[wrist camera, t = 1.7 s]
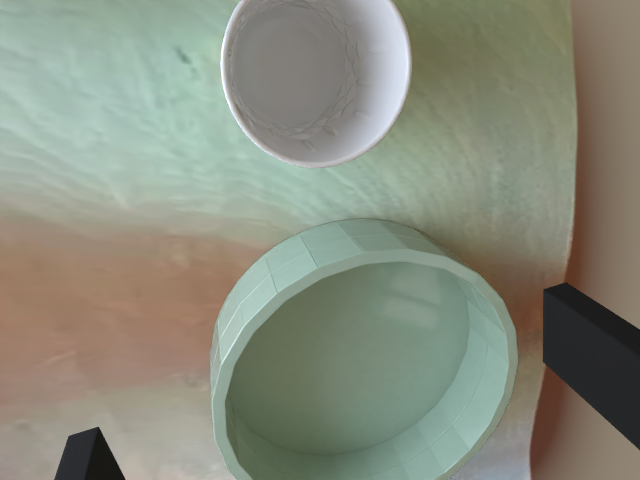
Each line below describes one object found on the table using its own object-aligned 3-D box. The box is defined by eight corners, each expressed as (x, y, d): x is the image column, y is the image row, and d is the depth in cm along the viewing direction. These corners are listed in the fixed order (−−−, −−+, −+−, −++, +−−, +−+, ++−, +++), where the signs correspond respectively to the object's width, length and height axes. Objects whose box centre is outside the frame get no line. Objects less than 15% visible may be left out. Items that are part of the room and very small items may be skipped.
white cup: (367, 31, 29) (445, 19, 20) (314, 153, 31) (363, 194, 21) (243, -36, 26) (267, -85, 17) (194, 102, 28) (191, 124, 19)
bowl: (200, 226, 31) (201, 263, 25) (489, 211, 35) (543, 239, 30) (218, 473, 38) (221, 543, 32) (456, 434, 42) (493, 489, 37)
